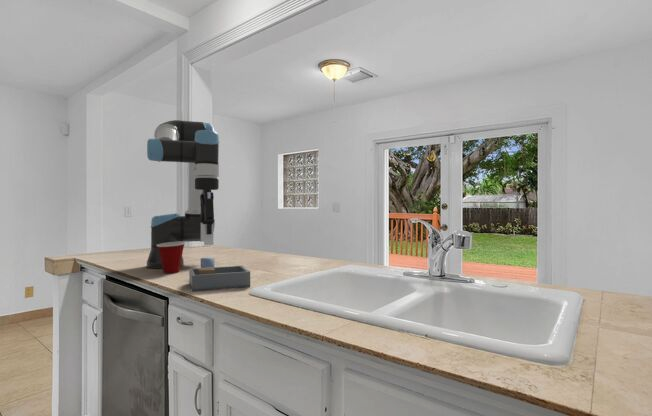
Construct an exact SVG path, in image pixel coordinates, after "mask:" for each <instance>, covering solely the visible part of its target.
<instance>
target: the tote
mask: <svg viewBox="0 0 652 416" xmlns="http://www.w3.org/2000/svg"><path fill="white" fill-rule="evenodd" d="M198 268H199V267H197V268H196V267H195V268H189V273H188V274H189V276H188V281H189V283H188V284H189V287H190V290H191V293H195V292H196V293H197V292H206V291H207V292H208V291H220V290H230V289H231V290H232V289H242V288H251V271H250V269H249V270H248V269H247V268H246V267H244V266H243V265H231V266H215V267H214V268H215V274H203V275H198Z"/></svg>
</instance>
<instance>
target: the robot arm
mask: <svg viewBox="0 0 652 416" xmlns="http://www.w3.org/2000/svg"><path fill="white" fill-rule="evenodd" d="M153 135H154V138H148V139H147V143H146V150H147V151H146V155H147V159H148V160H149V161H151V162H158V163H159V162H167V163H168V162H169V163H187V164H188V203H187V205H188V208H187V209H186V211H184V215H182V216H181V214H180V213H179V212H175V213H168V214H160V215H154V216H153V217H152V218H151V222H150V228H151V229H150V231H151V232H150V237H151V238H150V239H151V240H150V252H149V255H148V257H147V260H146V268H149V269H163V267H162V262H161V257H160V252H159V249H158V247H157V246H156V245H157V244H161V243H167V242H185V243H189V242H200V243H203V245H204V246H214V232H215V227H216V226H215V224H216V222H215V221H216V217H215V213H214V211H215V210H214V197H215V196H214V191H217V190H219V184H220V183H219V182H220V181H219V179H218V177H220V169H219V168H220V165H219V151H220V149H219V148H220V147H219V146H220V145H219V144H220V141H219V133H218V132H217V131H215V128H214V126H213V124H212V123H209V122H204V121H192V120H191V121H189V120H180V119H175V120H168V121H165V122H163V123H161V124H159V125H158V126H157V127H156V128H155V130H154V134H153ZM184 263H185V262H184V256H182V260H181V264H180V267H182V265H183V266H184V265H185V264H184Z"/></svg>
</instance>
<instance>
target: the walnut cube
mask: <svg viewBox="0 0 652 416" xmlns="http://www.w3.org/2000/svg"><path fill="white" fill-rule="evenodd" d="M197 268H198V275H203V274H215V268H214V267H208V268H201V267H197Z"/></svg>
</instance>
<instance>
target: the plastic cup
mask: <svg viewBox="0 0 652 416" xmlns="http://www.w3.org/2000/svg"><path fill="white" fill-rule="evenodd" d="M185 244H186V242H167V243H161V244H157V245H156V246H157V247H158V249H159V252H160V257H161V262H162V267H163V268H162V271H163V273H164V274H175V273H177V274H178V273H179V272H180V270H181V269H180V268H181V266H180V264H181V260H182V257H183V251H184V248H185Z"/></svg>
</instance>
